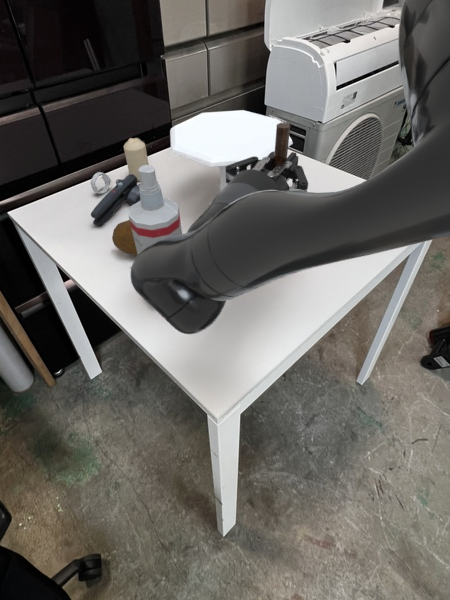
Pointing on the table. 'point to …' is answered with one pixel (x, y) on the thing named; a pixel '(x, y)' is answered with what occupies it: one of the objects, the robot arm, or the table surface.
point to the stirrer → (281, 144)
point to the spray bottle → (153, 212)
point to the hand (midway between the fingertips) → (286, 156)
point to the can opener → (116, 199)
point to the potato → (124, 238)
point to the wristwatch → (106, 180)
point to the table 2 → (225, 138)
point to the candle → (135, 155)
